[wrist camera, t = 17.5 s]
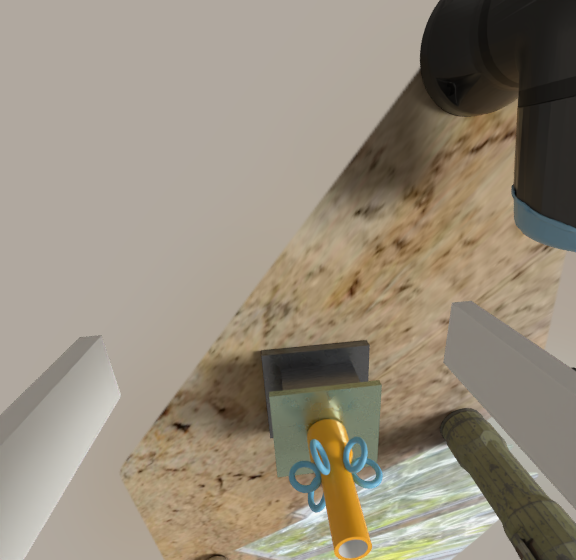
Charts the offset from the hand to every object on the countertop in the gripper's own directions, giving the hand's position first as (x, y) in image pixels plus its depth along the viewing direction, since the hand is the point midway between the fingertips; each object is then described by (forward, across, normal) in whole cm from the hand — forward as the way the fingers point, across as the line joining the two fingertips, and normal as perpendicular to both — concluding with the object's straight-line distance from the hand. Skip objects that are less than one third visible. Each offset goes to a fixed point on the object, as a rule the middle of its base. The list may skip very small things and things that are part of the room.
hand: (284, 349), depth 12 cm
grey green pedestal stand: (+35, +6, -32) cm, 48 cm away
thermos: (+35, +35, -45) cm, 67 cm away
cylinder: (+25, +6, -32) cm, 41 cm away
